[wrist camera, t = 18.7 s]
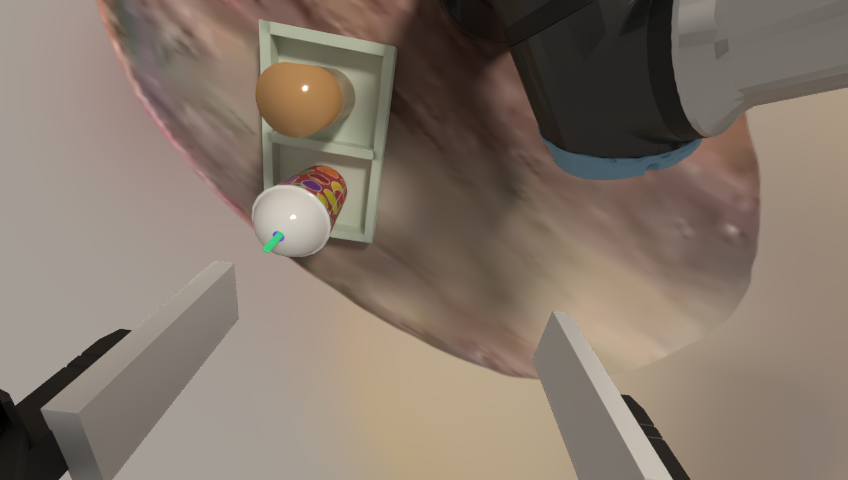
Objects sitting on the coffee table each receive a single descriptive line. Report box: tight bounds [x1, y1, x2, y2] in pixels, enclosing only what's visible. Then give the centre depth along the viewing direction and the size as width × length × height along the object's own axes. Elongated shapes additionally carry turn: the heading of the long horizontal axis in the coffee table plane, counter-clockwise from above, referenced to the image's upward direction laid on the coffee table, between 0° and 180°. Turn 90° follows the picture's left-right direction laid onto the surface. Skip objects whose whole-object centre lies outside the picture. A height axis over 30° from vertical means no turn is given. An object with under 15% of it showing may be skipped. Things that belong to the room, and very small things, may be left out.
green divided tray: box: [259, 19, 398, 243], centre depth 45 cm, size 26×15×4 cm, turn 170°
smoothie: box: [252, 165, 347, 257], centre depth 40 cm, size 8×8×20 cm
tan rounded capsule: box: [256, 62, 355, 138], centre depth 37 cm, size 6×6×14 cm
